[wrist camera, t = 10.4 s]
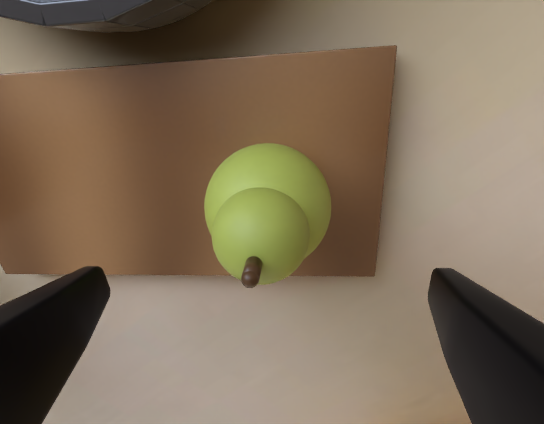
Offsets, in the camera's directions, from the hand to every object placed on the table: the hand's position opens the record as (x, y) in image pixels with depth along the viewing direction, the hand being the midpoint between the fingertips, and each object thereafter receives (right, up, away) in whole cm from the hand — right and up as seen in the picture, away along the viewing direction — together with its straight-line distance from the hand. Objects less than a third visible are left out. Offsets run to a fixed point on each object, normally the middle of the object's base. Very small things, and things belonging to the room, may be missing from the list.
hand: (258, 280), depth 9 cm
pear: (+1, +3, +7) cm, 7 cm away
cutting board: (-5, +4, +9) cm, 11 cm away
